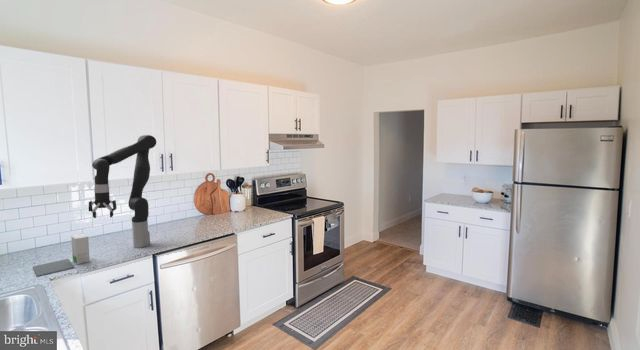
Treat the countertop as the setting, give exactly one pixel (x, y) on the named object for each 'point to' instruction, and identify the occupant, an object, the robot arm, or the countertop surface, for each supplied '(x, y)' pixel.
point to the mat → (53, 267)
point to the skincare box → (80, 248)
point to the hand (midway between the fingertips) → (103, 217)
